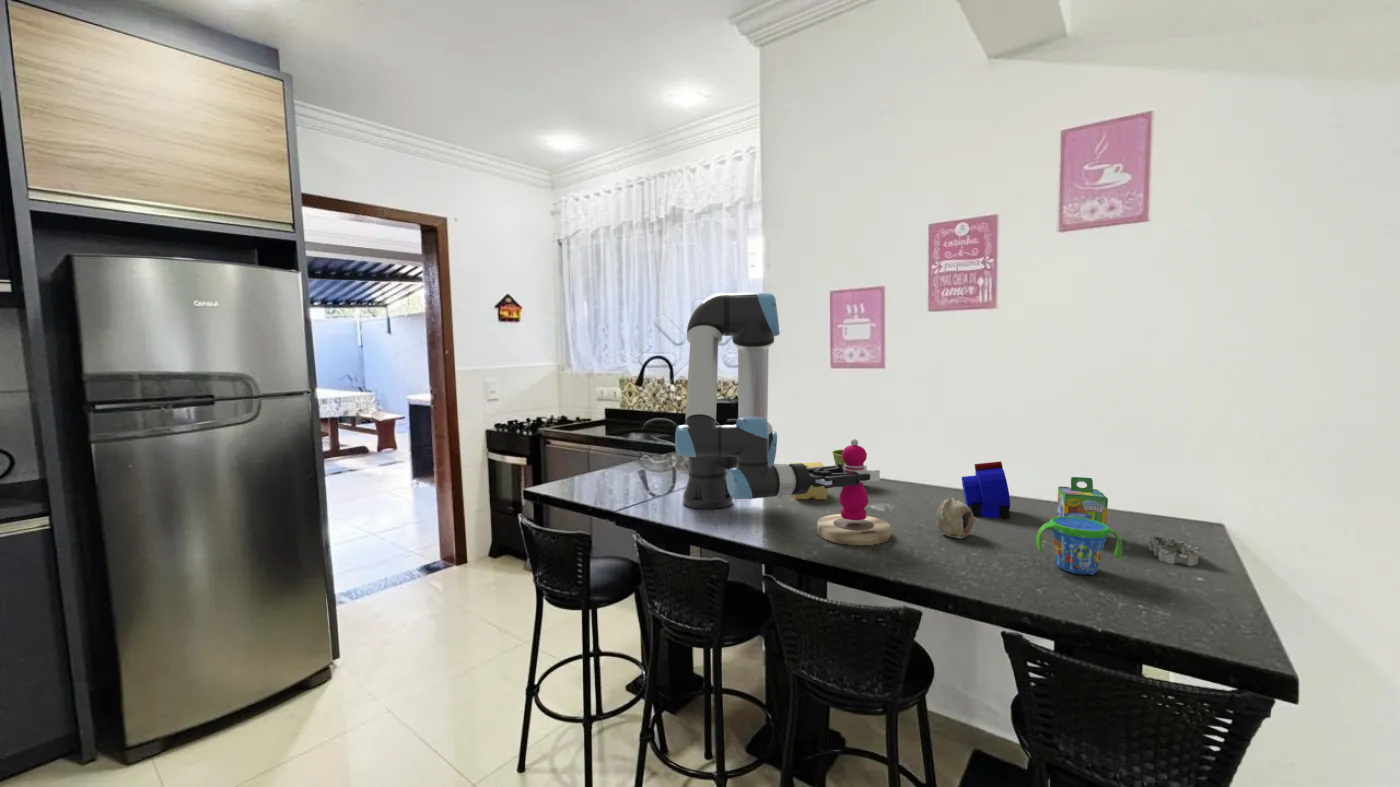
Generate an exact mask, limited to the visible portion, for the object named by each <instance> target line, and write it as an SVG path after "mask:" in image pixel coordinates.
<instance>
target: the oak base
mask: <svg viewBox="0 0 1400 787" xmlns="http://www.w3.org/2000/svg"><path fill="white" fill-rule="evenodd" d="M816 524H817V529H816V532H817V534H818V536H819V537H820V538H822V539H824V540H826V541H828V540H829V541H828V542H831V541H832V543H835V544H840V545H845V544H847V545H846V546H855V545H869V546H875V545H874V544H877V545H880V544H879V543H882V544H884V543H883V542H885V543H887V542H888V541H889V540H890V539H891V525H890V524H889V522H886V521H885V520H883V519H880V518H877V517H873V516H871V515H870V516H869V515H866V518H865V519H863V520H848V519H844V518H842V517H841V513H839V514H837V513H836V514H831V515H824V516H822V517H820V518H819V519H818V520H817V523H816ZM889 538H890V539H889ZM887 540H888V541H887ZM886 541H887V542H886Z"/></svg>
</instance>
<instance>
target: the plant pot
mask: <svg viewBox="0 0 1400 787" xmlns="http://www.w3.org/2000/svg"><path fill="white" fill-rule="evenodd" d="M843 450H844V449H835V450H832V451H831V454H832V456H833V461H834V466H836V467H838V464H842V469H843V467H845V466H844V464H846V463H845V461H844V460H843V458H842V453H843ZM866 454H867V455H868V452H866ZM864 463H865V462H864ZM864 463H863V465H865V464H864Z"/></svg>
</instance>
